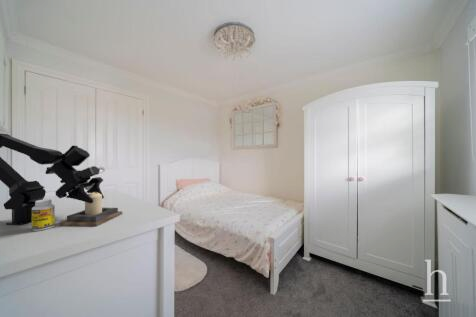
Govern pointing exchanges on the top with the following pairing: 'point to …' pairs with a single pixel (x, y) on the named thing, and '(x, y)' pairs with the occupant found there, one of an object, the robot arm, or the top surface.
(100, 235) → the top surface
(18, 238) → the top surface
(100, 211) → the candle
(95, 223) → the socket
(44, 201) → the supplement bottle
